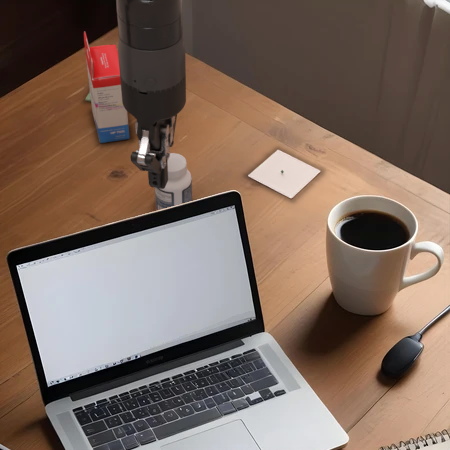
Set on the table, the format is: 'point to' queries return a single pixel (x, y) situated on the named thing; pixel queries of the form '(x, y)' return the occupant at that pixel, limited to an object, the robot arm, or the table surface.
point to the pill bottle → (175, 184)
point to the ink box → (106, 92)
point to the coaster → (284, 173)
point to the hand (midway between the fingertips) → (158, 184)
